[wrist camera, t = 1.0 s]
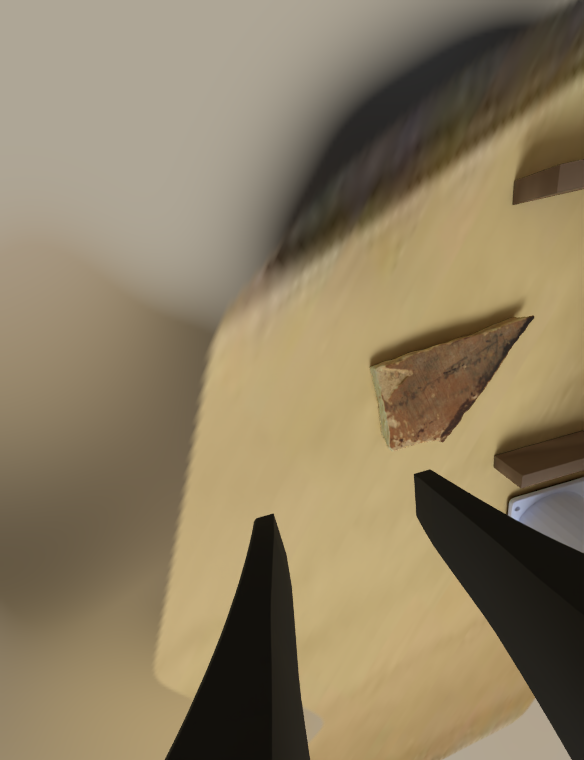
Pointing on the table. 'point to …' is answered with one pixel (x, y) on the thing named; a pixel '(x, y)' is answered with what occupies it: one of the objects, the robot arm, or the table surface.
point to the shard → (439, 383)
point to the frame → (570, 449)
